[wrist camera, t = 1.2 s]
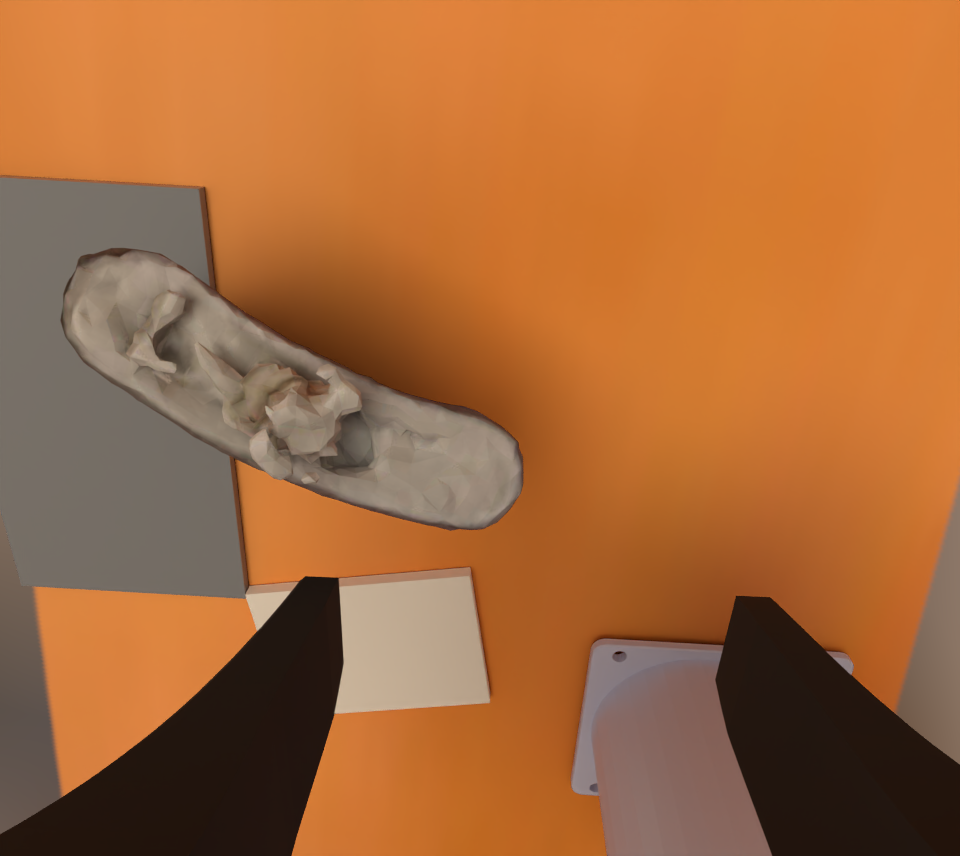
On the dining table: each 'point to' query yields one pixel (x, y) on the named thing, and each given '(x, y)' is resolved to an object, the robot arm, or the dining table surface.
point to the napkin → (401, 639)
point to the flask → (283, 398)
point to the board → (102, 409)
